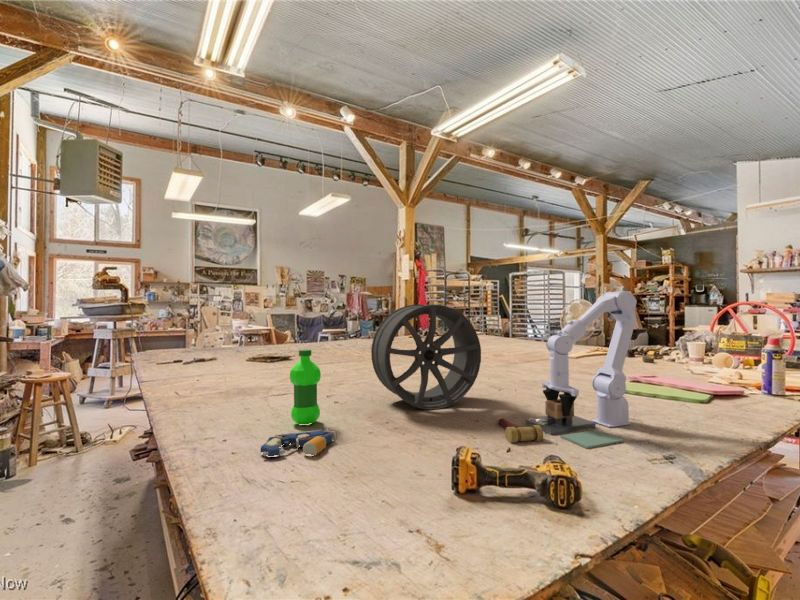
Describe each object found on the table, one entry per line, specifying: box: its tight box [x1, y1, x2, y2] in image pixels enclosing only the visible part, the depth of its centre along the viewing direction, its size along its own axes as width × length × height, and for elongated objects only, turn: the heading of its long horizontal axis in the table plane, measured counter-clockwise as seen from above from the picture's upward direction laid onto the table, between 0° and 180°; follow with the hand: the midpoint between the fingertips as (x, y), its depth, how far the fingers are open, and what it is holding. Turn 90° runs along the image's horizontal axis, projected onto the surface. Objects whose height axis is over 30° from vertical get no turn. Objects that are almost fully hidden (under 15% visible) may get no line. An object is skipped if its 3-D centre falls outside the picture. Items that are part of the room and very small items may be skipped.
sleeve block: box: [545, 398, 575, 419], centre depth 133 cm, size 7×5×4 cm
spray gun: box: [260, 427, 337, 457], centre depth 114 cm, size 21×4×15 cm
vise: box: [524, 415, 597, 436], centre depth 133 cm, size 18×12×7 cm, turn 111°
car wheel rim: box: [370, 304, 482, 411], centre depth 163 cm, size 40×20×40 cm, turn 109°
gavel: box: [496, 418, 544, 444], centre depth 127 cm, size 21×5×10 cm
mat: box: [560, 429, 625, 450], centre depth 119 cm, size 14×10×1 cm
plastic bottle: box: [289, 348, 322, 425], centre depth 138 cm, size 10×10×25 cm
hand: (559, 413), depth 133 cm, fingers closed on sleeve block, 5 cm apart
